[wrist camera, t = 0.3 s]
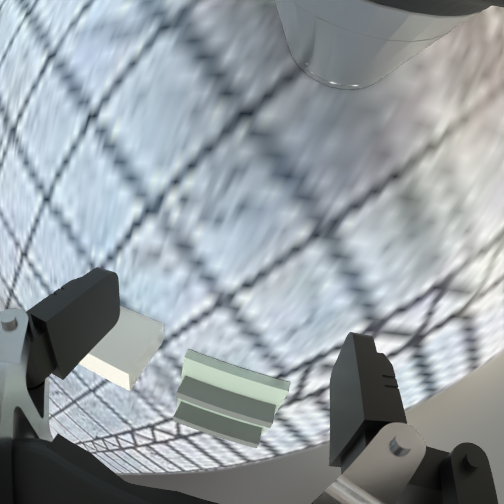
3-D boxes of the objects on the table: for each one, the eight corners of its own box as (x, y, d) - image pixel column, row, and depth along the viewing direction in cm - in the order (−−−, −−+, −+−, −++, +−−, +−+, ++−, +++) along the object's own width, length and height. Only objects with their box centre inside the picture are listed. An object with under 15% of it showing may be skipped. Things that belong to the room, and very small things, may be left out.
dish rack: (188, 349, 35) (175, 374, 31) (289, 382, 34) (285, 410, 30) (179, 408, 41) (168, 429, 37) (259, 434, 40) (253, 457, 36)
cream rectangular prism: (97, 294, 35) (55, 333, 27) (164, 324, 34) (128, 374, 26) (98, 312, 36) (59, 351, 28) (162, 341, 35) (129, 390, 27)
